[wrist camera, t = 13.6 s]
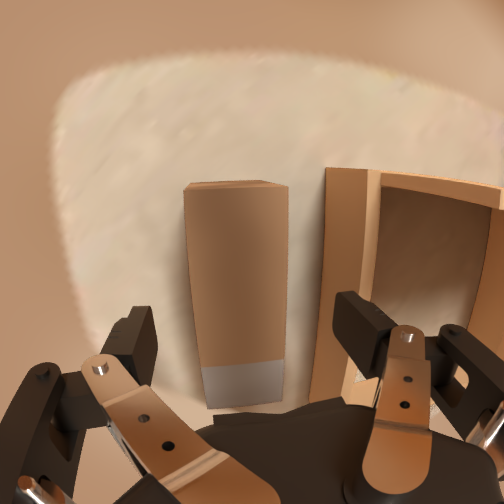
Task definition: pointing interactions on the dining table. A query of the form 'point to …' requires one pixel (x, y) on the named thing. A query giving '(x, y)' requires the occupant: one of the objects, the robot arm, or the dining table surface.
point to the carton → (363, 266)
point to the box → (239, 288)
